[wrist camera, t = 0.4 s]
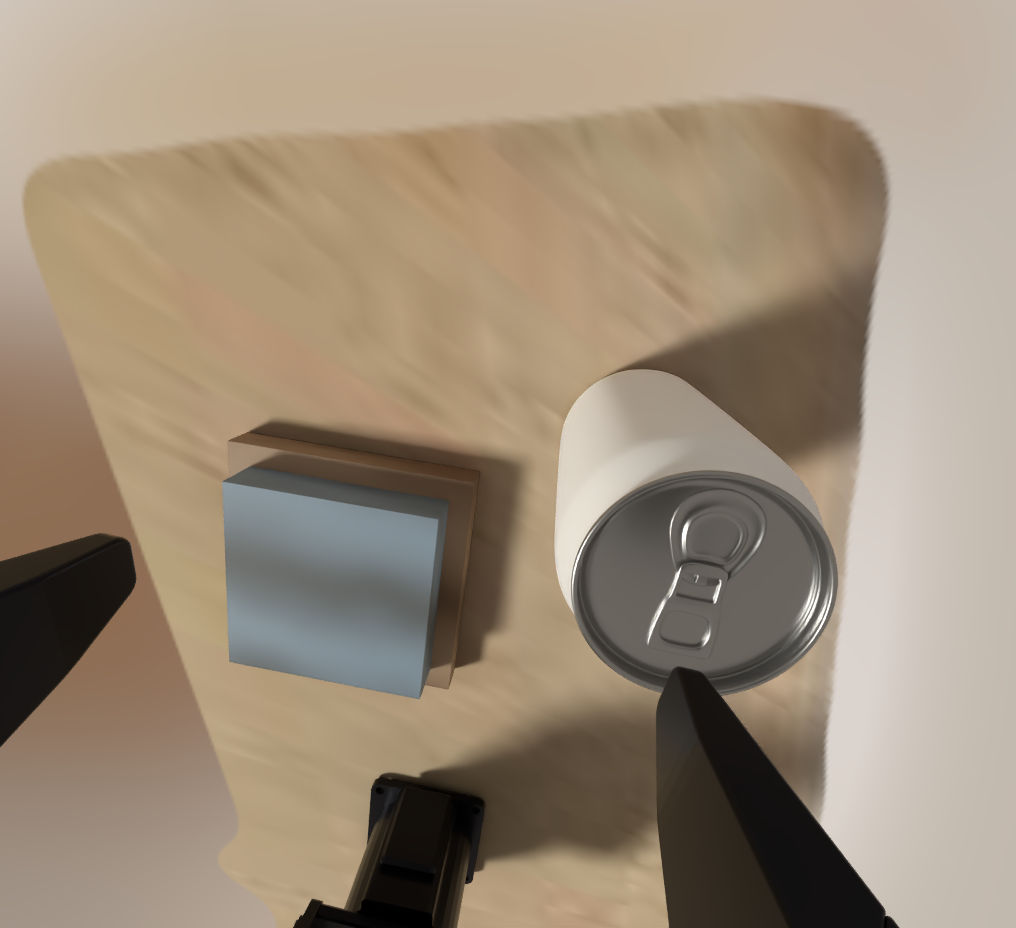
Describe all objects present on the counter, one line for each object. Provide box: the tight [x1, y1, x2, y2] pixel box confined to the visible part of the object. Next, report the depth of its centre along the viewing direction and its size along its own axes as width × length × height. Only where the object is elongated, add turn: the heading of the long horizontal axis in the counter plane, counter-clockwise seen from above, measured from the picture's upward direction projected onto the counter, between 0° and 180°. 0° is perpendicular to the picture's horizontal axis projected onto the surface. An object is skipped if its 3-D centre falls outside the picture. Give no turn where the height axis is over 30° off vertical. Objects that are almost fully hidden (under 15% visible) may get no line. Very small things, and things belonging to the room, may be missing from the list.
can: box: [555, 369, 838, 696], centre depth 17 cm, size 6×6×12 cm
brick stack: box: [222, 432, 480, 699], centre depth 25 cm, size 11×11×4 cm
